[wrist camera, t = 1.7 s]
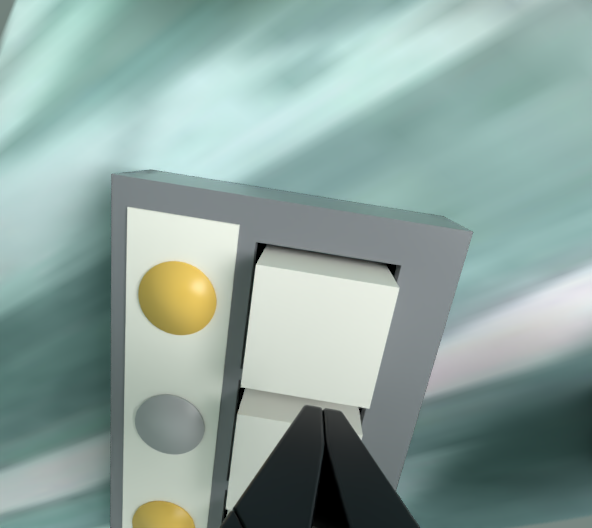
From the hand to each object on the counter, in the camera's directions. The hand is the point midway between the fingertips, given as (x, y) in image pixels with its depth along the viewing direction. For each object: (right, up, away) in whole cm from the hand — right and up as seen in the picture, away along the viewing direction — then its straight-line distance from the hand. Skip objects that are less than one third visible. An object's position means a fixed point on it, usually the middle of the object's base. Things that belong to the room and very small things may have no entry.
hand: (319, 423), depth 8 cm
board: (-2, -2, +9) cm, 10 cm away
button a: (0, +2, +6) cm, 6 cm away
